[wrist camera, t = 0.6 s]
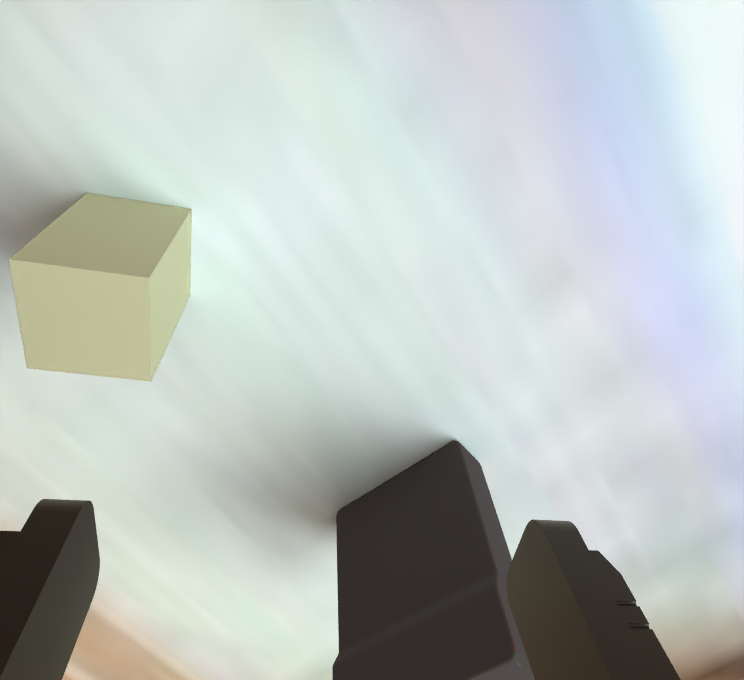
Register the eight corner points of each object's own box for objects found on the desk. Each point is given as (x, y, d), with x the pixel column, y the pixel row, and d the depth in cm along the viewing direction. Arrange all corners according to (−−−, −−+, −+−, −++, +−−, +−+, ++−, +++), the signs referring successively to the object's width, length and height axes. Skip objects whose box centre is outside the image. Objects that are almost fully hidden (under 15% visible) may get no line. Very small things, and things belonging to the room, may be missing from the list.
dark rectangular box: (366, 535, 42) (383, 765, 30) (329, 507, 40) (331, 741, 28) (485, 466, 39) (561, 690, 27) (452, 432, 37) (517, 657, 25)
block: (87, 192, 27) (8, 259, 20) (191, 208, 28) (149, 278, 21) (94, 282, 30) (26, 368, 23) (189, 295, 30) (151, 381, 24)
